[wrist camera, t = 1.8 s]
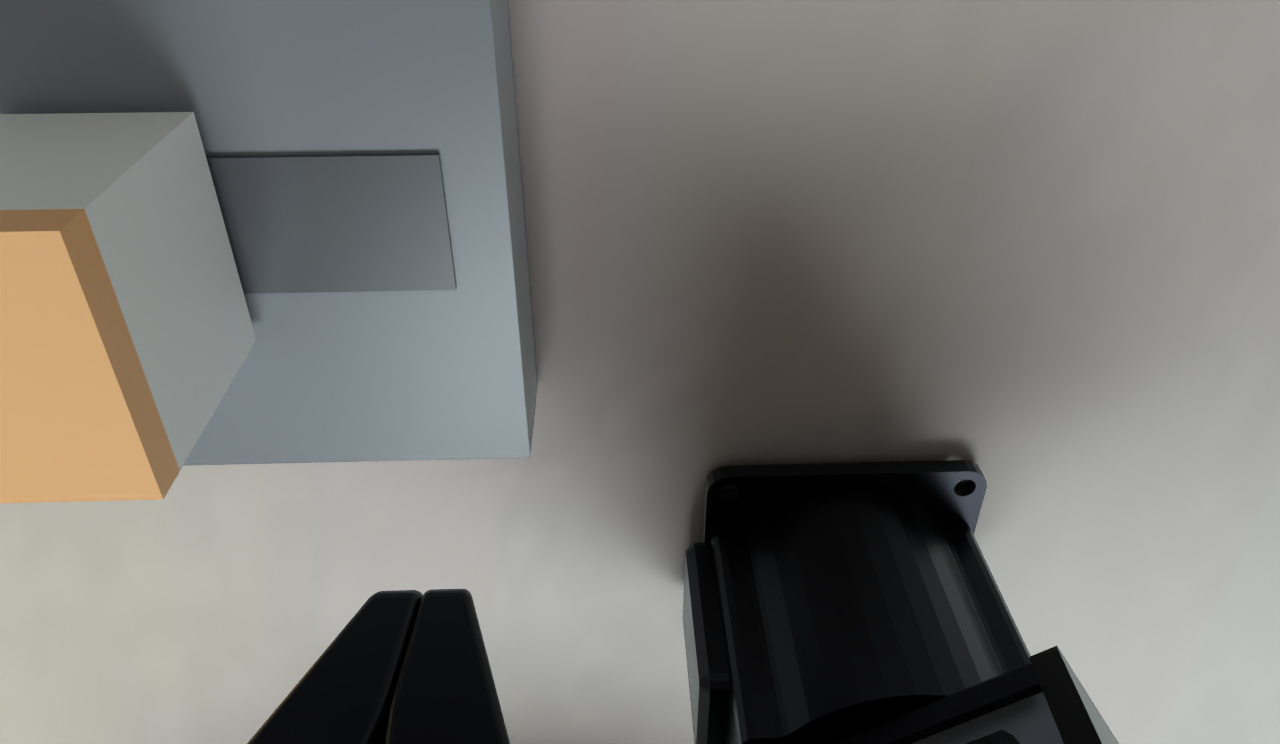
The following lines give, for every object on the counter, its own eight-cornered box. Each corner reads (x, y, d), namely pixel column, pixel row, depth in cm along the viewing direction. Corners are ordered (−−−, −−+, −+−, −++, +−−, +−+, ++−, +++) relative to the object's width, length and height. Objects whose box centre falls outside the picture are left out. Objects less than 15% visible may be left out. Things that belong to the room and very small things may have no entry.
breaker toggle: (193, 111, 14) (59, 231, 10) (256, 339, 16) (163, 498, 13) (-12, 114, 14) (-216, 235, 10) (80, 343, 16) (-62, 504, 12)
